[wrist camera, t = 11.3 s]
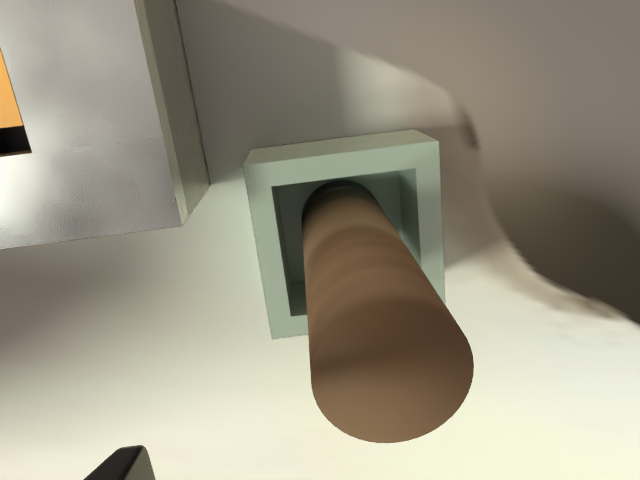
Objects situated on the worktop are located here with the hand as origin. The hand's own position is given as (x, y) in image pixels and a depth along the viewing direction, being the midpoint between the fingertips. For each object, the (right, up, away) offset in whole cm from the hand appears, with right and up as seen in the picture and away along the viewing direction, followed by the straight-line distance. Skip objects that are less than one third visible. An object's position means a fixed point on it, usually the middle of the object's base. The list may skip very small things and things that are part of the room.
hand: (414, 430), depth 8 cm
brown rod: (-1, +4, +12) cm, 13 cm away
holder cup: (-1, +4, +12) cm, 13 cm away
